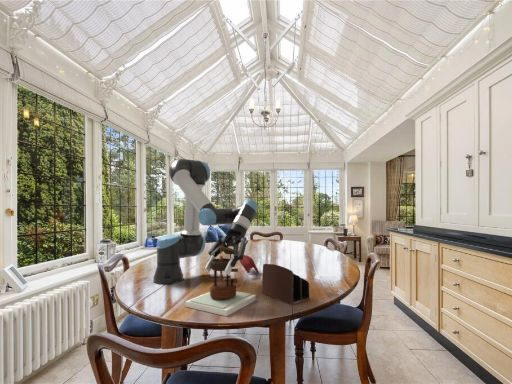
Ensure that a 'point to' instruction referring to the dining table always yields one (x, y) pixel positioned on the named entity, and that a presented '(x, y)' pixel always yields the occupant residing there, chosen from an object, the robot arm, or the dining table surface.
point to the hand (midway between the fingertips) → (216, 271)
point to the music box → (226, 288)
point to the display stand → (220, 303)
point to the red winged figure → (248, 264)
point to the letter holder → (284, 285)
